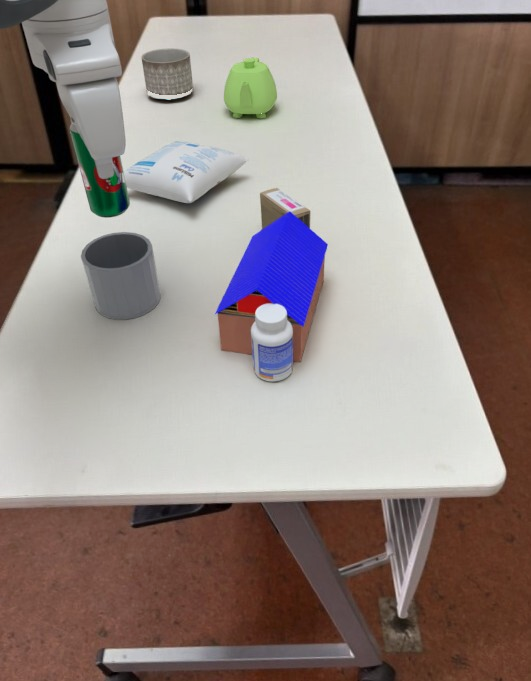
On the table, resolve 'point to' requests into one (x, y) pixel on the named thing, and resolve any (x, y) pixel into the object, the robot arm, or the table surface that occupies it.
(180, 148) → the pouch
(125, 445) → the table surface
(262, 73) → the teapot
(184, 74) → the planter
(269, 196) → the ink box
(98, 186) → the soda can
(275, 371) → the pill bottle
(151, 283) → the steel cup
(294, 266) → the house
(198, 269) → the table surface
